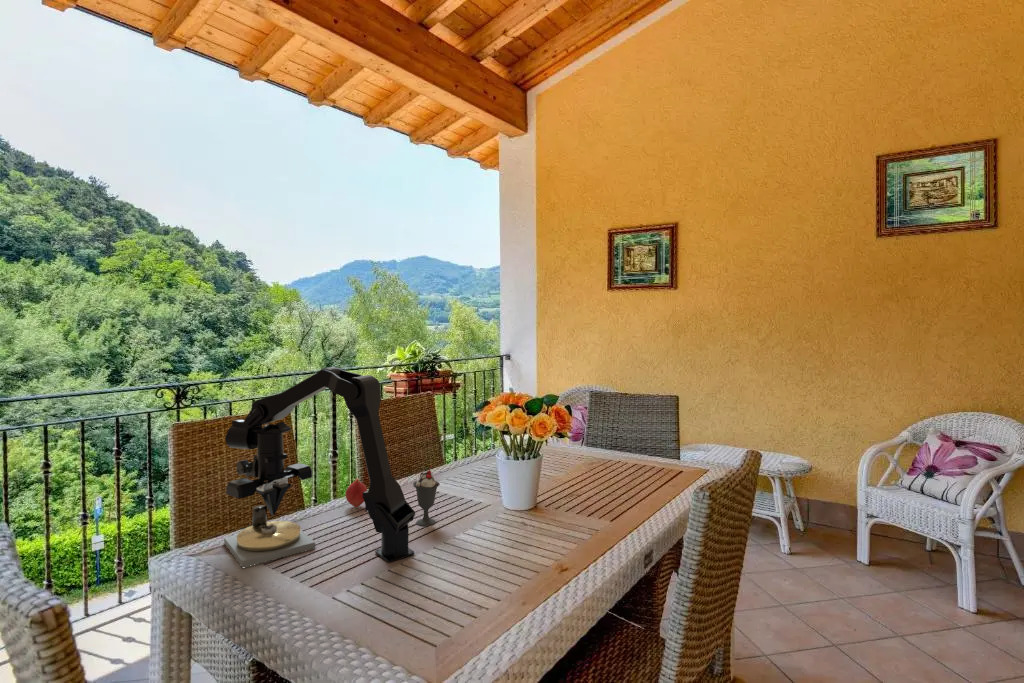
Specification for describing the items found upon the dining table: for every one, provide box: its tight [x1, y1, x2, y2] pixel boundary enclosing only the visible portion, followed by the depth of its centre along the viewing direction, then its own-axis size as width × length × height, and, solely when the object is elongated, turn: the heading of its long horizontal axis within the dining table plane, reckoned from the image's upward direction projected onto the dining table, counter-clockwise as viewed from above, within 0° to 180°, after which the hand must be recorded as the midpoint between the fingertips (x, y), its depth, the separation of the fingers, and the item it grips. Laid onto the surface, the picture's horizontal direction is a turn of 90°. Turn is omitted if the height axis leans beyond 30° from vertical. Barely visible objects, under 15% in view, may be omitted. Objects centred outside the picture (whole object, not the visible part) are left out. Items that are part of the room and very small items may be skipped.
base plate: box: [223, 528, 316, 568], centre depth 120 cm, size 15×15×2 cm
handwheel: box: [236, 504, 301, 551], centre depth 120 cm, size 13×13×6 cm
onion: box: [345, 478, 368, 508], centre depth 145 cm, size 6×6×8 cm
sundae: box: [412, 465, 440, 527], centre depth 135 cm, size 7×7×15 cm
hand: (272, 515), depth 127 cm, fingers closed
